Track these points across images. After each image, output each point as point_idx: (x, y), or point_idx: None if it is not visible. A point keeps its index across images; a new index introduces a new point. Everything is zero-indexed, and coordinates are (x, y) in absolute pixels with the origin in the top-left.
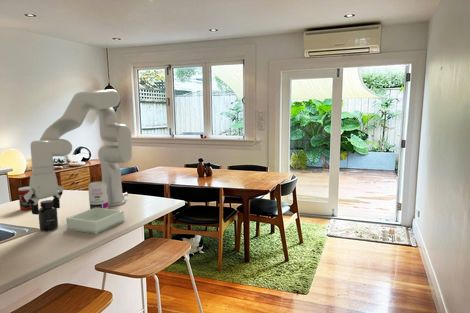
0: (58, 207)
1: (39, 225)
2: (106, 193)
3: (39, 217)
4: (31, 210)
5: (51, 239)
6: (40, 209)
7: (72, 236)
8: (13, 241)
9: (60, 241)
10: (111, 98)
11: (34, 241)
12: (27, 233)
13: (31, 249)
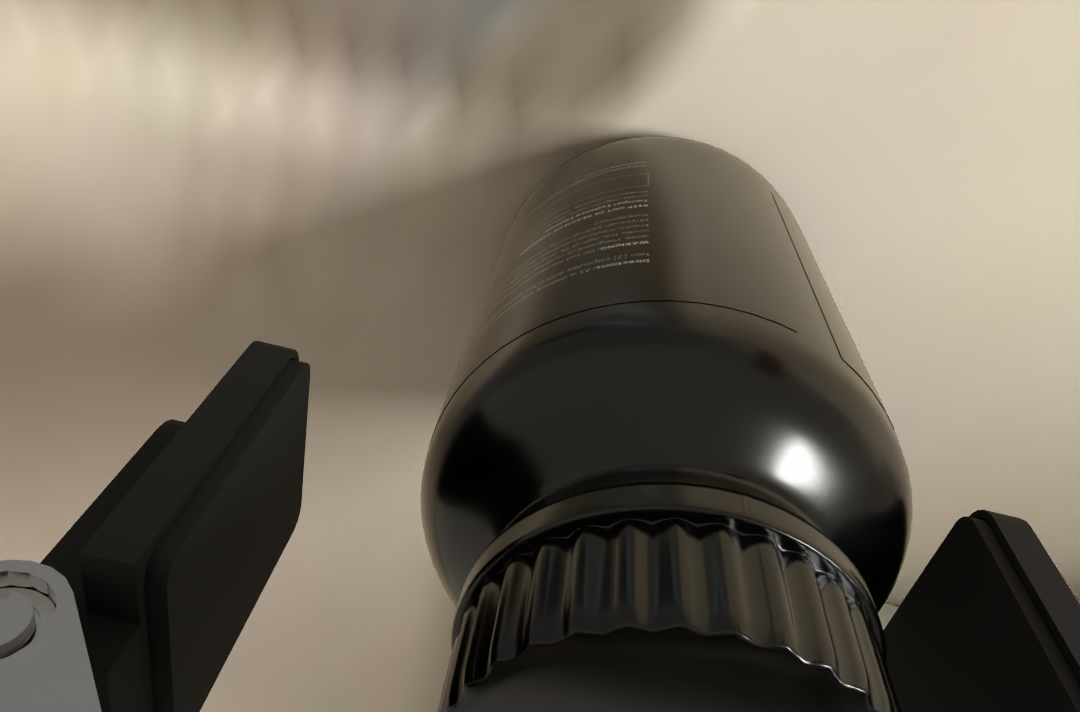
0: (887, 665)
1: (525, 216)
2: None
3: (466, 344)
4: (142, 449)
5: (292, 538)
6: (463, 495)
7: (430, 682)
8: (35, 79)
9: (278, 642)
10: None
11: (169, 391)
12: (384, 25)
13: (4, 501)
